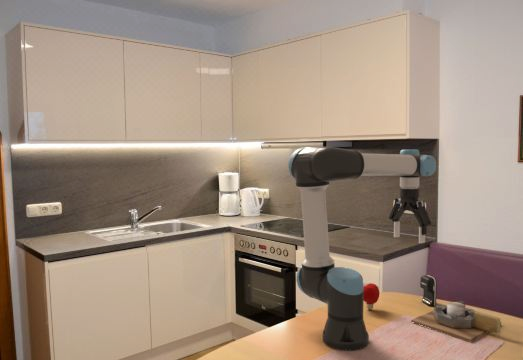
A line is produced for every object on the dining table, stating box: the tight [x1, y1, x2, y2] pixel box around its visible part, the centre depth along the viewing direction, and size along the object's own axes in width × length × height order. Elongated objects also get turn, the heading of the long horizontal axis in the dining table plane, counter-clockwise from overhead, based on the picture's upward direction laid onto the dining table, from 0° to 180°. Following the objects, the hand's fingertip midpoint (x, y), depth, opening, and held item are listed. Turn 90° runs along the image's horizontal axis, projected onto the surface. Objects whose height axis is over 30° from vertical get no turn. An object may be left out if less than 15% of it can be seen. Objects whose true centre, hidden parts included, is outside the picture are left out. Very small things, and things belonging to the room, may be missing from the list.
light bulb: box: [363, 283, 380, 311], centre depth 178 cm, size 9×7×10 cm
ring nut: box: [433, 304, 501, 335], centre depth 160 cm, size 22×14×5 cm, turn 38°
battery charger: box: [419, 274, 438, 307], centre depth 184 cm, size 7×4×11 cm, turn 12°
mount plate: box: [410, 300, 502, 343], centre depth 163 cm, size 22×22×7 cm
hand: (408, 239), depth 184 cm, fingers open, 13 cm apart
